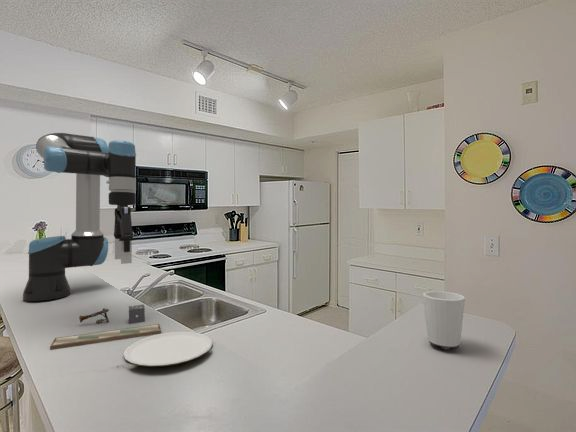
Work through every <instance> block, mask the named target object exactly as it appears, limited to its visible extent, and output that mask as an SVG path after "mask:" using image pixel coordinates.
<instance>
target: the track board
mask: <svg viewBox="0 0 576 432" xmlns="http://www.w3.org/2000/svg"><path fill="white" fill-rule="evenodd" d="M158 334H162V329H161V325H160V323H157V324H148V325H141V326H140V325H139V326H131V327H126V328H119V329H118V328H117V329H111V330H104V331H96V332H89V333H82V334H75V335H74V334H73V335H67V336H61V337H60V336H59V337H58V336H57V337H55V338H54V339H53V340H52V343H51V344H50V346H49V350H51V351H52V350H58V349H64V348H65V349H66V348H69V347H71V348H72V347H78V346H83V345H91V344H98V343H104V342H109V341H110V342H111V341H117V340H125V339H126V340H127V339H131V338H139V337H145V336H153V335H158Z"/></svg>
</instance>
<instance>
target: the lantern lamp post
mask: <svg viewBox="0 0 576 432" xmlns="http://www.w3.org/2000/svg"><path fill="white" fill-rule="evenodd" d="M109 311H110V309H109V308H108V309H107V308H102V310H100V311H97V312H94V313H91V314H88V315H83V316H82V315H79V317H78V319H79V323H83V321H85V320H88V319H89V318H91V319H92V318H96V317H97V316H99V315H101V316H103V317H104V318H101V319H97V320H96V321H95V323H96V324H99V323H103V322H105V321H106V324H107V323H109V322H110V321H109V316H108V315H107V313H108V312H109Z"/></svg>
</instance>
